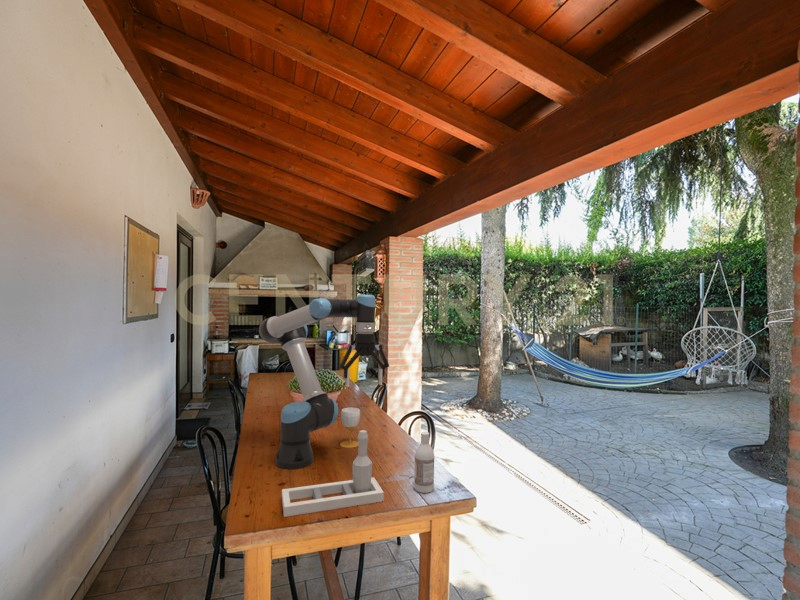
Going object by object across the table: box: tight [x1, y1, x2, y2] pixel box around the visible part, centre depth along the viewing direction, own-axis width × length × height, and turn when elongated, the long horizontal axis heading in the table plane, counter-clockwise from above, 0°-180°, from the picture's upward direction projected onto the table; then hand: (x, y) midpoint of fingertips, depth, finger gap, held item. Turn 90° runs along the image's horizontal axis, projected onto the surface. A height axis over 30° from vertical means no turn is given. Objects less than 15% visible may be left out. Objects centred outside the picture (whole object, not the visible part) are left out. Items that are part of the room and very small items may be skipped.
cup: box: [339, 407, 361, 449], centre depth 182 cm, size 9×9×16 cm
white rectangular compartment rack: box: [281, 476, 385, 518], centre depth 131 cm, size 32×12×3 cm, turn 110°
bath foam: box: [413, 431, 435, 494], centre depth 140 cm, size 7×7×20 cm
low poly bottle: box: [351, 429, 373, 494], centre depth 134 cm, size 6×6×22 cm
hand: (364, 385), depth 158 cm, fingers open, 13 cm apart
